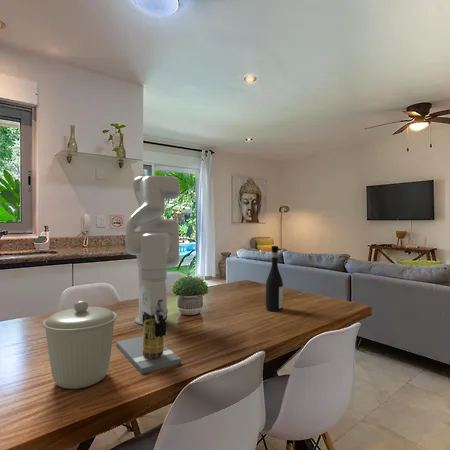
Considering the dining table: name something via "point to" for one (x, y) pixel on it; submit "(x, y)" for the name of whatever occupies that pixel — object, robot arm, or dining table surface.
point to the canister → (79, 344)
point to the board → (135, 355)
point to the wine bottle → (274, 285)
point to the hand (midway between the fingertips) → (153, 331)
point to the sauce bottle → (151, 338)
